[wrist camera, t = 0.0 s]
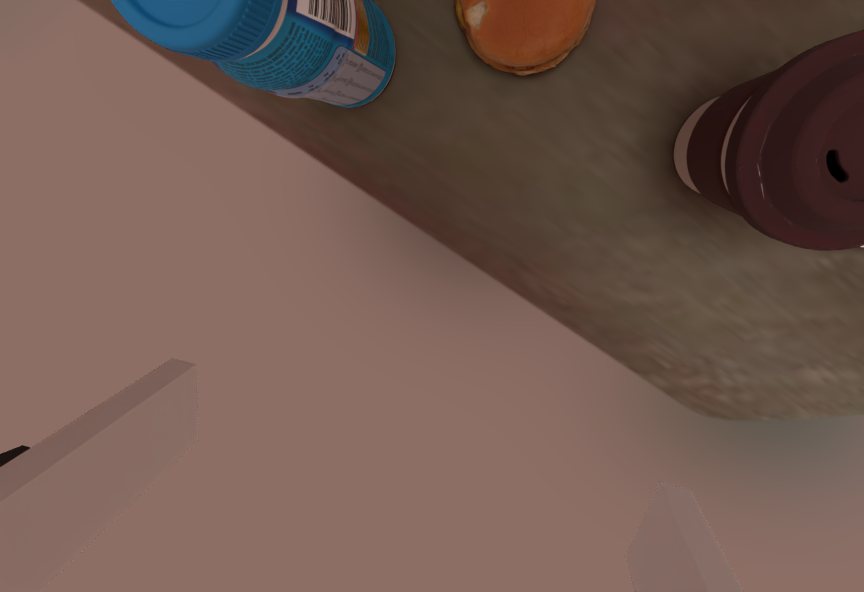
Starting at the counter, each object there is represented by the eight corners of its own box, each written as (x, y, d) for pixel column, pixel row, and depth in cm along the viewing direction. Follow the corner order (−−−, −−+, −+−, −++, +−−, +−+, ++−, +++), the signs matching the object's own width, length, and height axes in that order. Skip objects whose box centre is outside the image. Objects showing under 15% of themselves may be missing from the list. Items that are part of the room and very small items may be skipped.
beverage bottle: (363, 131, 37) (214, 117, 18) (282, 68, 36) (40, -12, 17) (419, 36, 34) (308, -97, 15) (331, -33, 33) (101, -262, 14)
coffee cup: (814, 68, 30) (1078, 3, 16) (782, 211, 33) (978, 260, 19) (662, 77, 32) (782, 25, 18) (645, 213, 35) (735, 258, 21)
